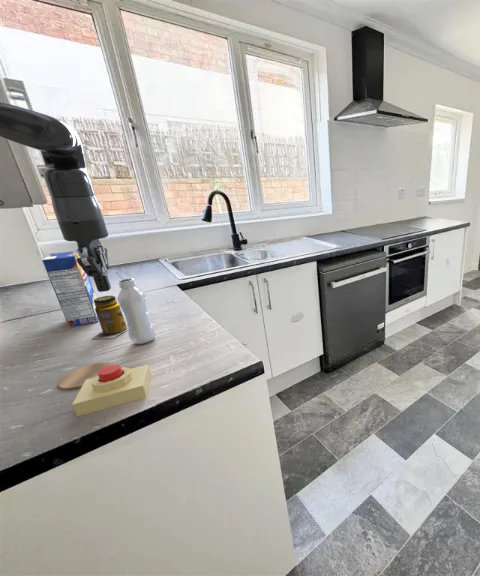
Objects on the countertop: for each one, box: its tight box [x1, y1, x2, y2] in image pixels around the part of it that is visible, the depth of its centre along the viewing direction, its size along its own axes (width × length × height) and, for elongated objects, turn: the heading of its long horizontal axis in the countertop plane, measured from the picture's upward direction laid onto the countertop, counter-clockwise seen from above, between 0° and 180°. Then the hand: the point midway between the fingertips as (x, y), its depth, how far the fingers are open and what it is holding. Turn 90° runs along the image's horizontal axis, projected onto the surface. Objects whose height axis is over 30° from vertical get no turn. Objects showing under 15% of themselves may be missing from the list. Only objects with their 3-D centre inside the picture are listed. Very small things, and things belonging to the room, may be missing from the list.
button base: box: [71, 364, 153, 417], centre depth 71 cm, size 12×10×5 cm
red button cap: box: [98, 364, 123, 382], centre depth 70 cm, size 4×4×2 cm
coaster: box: [57, 361, 116, 391], centre depth 79 cm, size 11×11×1 cm
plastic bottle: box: [117, 277, 157, 345], centre depth 93 cm, size 6×7×20 cm
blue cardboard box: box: [41, 250, 99, 329], centre depth 108 cm, size 12×8×24 cm, turn 37°
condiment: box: [91, 295, 129, 340], centre depth 100 cm, size 7×8×12 cm
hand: (104, 290), depth 74 cm, fingers closed
